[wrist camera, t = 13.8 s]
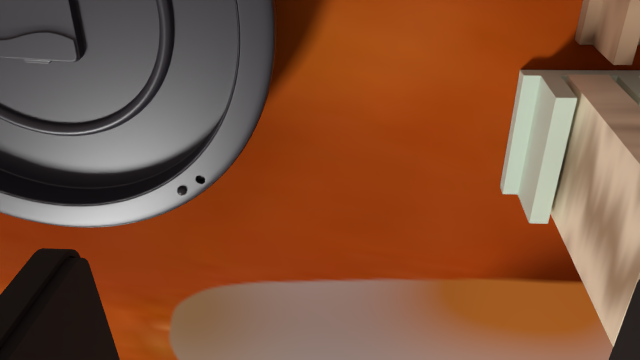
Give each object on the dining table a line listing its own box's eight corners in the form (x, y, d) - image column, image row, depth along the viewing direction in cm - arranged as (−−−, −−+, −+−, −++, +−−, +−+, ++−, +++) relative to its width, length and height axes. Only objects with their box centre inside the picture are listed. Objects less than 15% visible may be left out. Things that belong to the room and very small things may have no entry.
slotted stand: (520, 69, 36) (537, 97, 32) (648, 70, 35) (681, 98, 31) (500, 186, 41) (513, 222, 37) (613, 188, 40) (638, 226, 36)
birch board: (567, 74, 35) (666, 197, 23) (608, 74, 35) (730, 199, 23) (541, 193, 40) (612, 346, 28) (577, 194, 39) (665, 348, 28)
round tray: (293, 195, 43) (279, -314, 27) (282, 243, 38) (257, -348, 22) (-72, 177, 45) (-283, -305, 29) (-128, 221, 40) (-421, -334, 24)
